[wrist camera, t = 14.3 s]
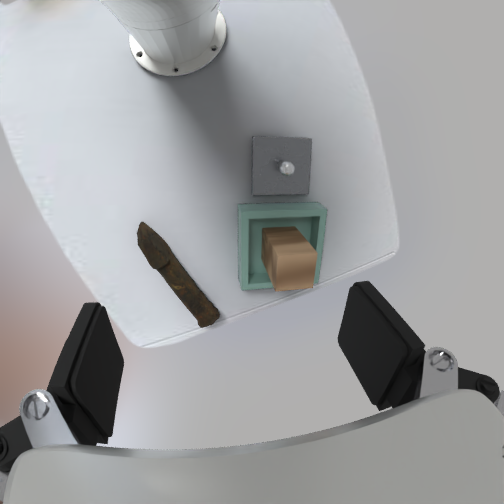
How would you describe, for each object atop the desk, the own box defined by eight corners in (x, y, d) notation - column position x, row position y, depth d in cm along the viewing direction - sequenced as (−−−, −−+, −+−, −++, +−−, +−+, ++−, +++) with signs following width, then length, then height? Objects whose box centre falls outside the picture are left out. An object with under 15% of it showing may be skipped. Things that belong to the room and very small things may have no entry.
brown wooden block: (262, 227, 41) (277, 255, 33) (295, 226, 42) (317, 253, 34) (261, 258, 43) (275, 291, 35) (292, 256, 44) (312, 287, 36)
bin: (237, 204, 40) (240, 211, 36) (317, 202, 41) (327, 209, 38) (238, 278, 45) (241, 290, 42) (310, 272, 47) (317, 283, 44)
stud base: (252, 136, 36) (258, 138, 32) (309, 138, 37) (320, 140, 33) (251, 193, 39) (257, 201, 36) (306, 192, 40) (316, 199, 37)
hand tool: (219, 307, 47) (222, 324, 43) (199, 316, 47) (199, 334, 43) (158, 211, 38) (153, 222, 34) (135, 224, 38) (128, 237, 34)
